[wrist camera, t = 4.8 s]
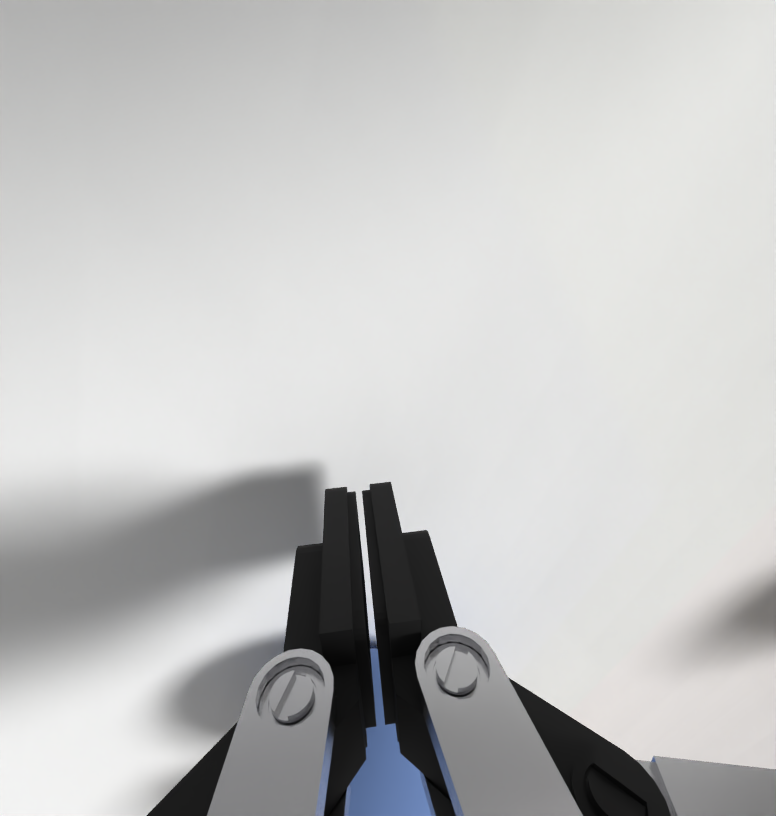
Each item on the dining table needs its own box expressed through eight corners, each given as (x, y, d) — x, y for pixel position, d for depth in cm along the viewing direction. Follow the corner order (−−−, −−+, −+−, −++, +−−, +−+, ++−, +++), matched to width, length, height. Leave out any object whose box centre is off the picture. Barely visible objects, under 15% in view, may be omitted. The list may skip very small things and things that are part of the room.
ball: (267, 964, 11) (289, 710, 16) (480, 926, 11) (435, 696, 17) (240, 899, 8) (278, 616, 13) (526, 854, 9) (454, 604, 14)
